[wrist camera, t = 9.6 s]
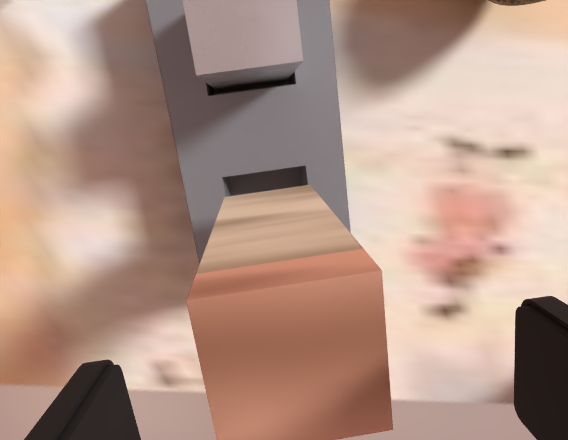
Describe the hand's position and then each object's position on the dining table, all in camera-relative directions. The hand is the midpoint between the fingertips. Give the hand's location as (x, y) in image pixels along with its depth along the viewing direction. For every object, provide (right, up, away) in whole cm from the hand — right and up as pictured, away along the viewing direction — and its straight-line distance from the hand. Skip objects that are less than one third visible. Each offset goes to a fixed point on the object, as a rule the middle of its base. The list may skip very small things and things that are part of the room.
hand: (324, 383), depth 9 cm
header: (-3, +10, +19) cm, 22 cm away
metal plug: (-4, +15, +17) cm, 23 cm away
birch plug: (-2, +3, +11) cm, 12 cm away
